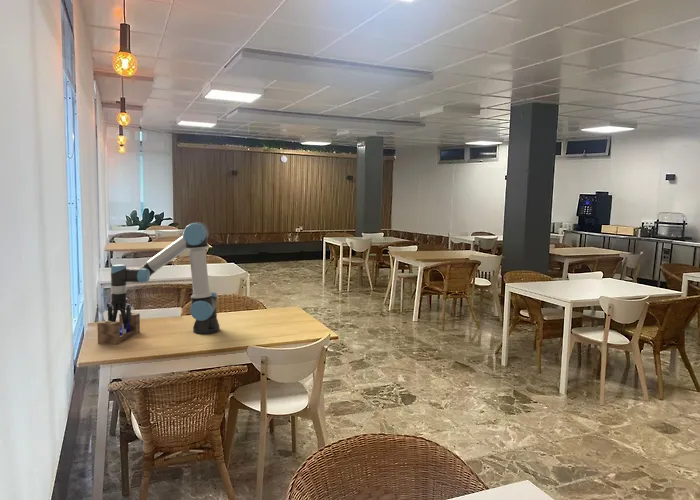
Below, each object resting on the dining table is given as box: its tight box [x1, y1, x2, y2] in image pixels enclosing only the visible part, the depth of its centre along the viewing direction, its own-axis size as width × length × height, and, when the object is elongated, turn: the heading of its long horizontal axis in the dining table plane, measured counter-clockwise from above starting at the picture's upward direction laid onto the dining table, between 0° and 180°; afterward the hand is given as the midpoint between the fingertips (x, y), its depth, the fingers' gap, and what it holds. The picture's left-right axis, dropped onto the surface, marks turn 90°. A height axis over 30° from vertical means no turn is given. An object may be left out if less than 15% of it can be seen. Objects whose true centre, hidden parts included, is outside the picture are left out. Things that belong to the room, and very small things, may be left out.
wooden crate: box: [97, 311, 141, 345], centre depth 278 cm, size 10×24×12 cm, turn 173°
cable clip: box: [120, 322, 129, 336], centre depth 278 cm, size 12×4×6 cm, turn 172°
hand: (119, 334), depth 279 cm, fingers closed on cable clip, 4 cm apart
